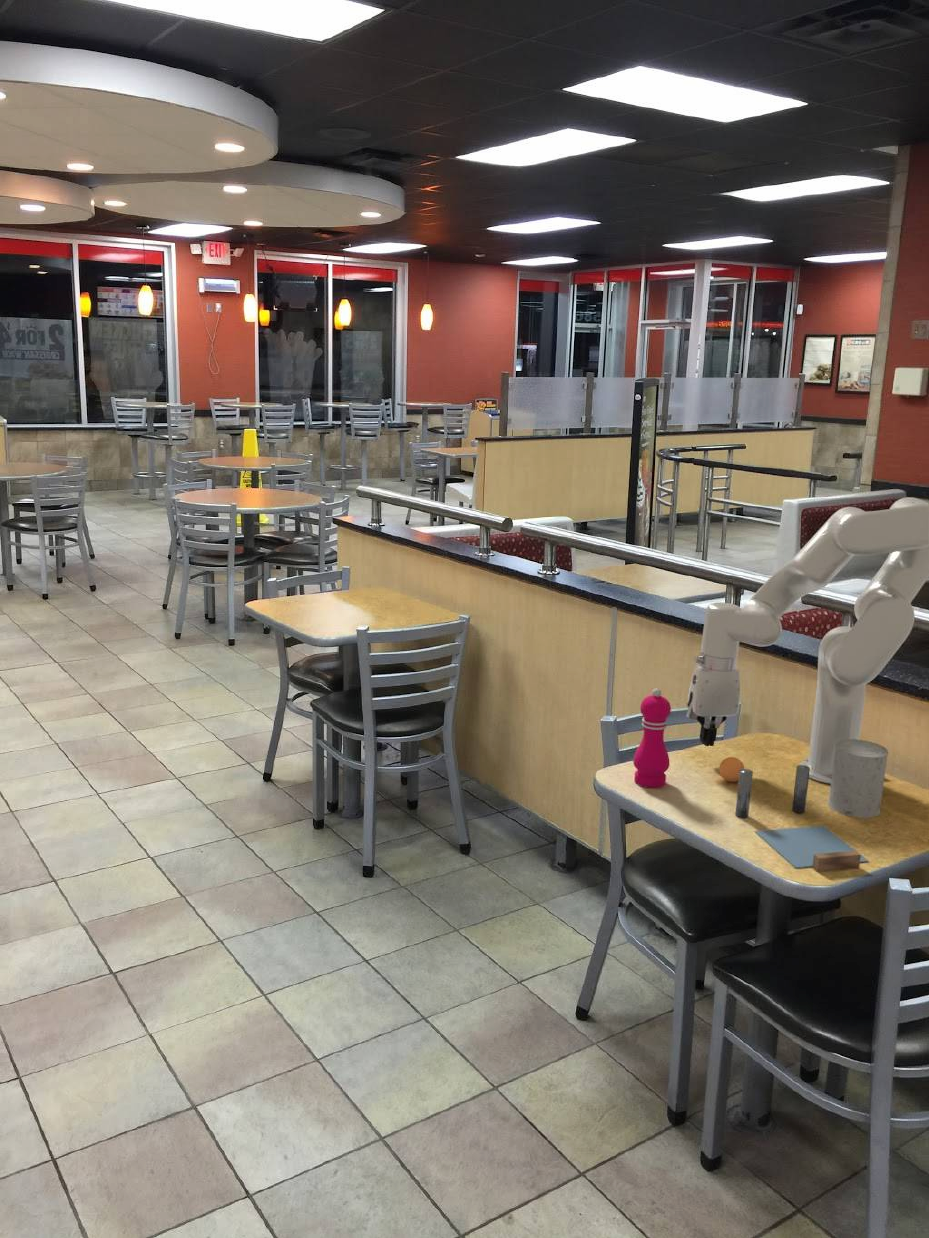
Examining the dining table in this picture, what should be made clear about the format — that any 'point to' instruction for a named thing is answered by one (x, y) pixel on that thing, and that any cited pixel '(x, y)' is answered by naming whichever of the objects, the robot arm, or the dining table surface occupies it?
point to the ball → (731, 769)
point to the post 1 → (744, 793)
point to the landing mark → (804, 844)
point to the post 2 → (800, 789)
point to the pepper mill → (652, 742)
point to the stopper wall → (836, 861)
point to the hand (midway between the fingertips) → (706, 743)
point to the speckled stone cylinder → (858, 778)
